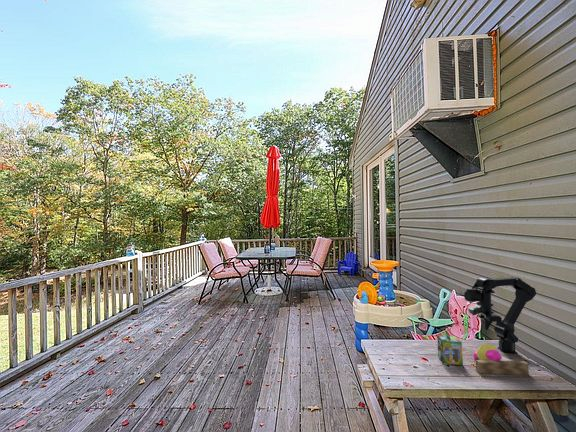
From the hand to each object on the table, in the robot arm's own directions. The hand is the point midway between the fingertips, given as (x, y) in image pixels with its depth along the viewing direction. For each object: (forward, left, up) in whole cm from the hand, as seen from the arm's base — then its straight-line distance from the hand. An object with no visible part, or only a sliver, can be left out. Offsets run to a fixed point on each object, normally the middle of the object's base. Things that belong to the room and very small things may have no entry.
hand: (486, 329), depth 158 cm
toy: (+8, +14, -12) cm, 20 cm away
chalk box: (+25, +12, -12) cm, 30 cm away
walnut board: (+6, +23, -12) cm, 27 cm away
